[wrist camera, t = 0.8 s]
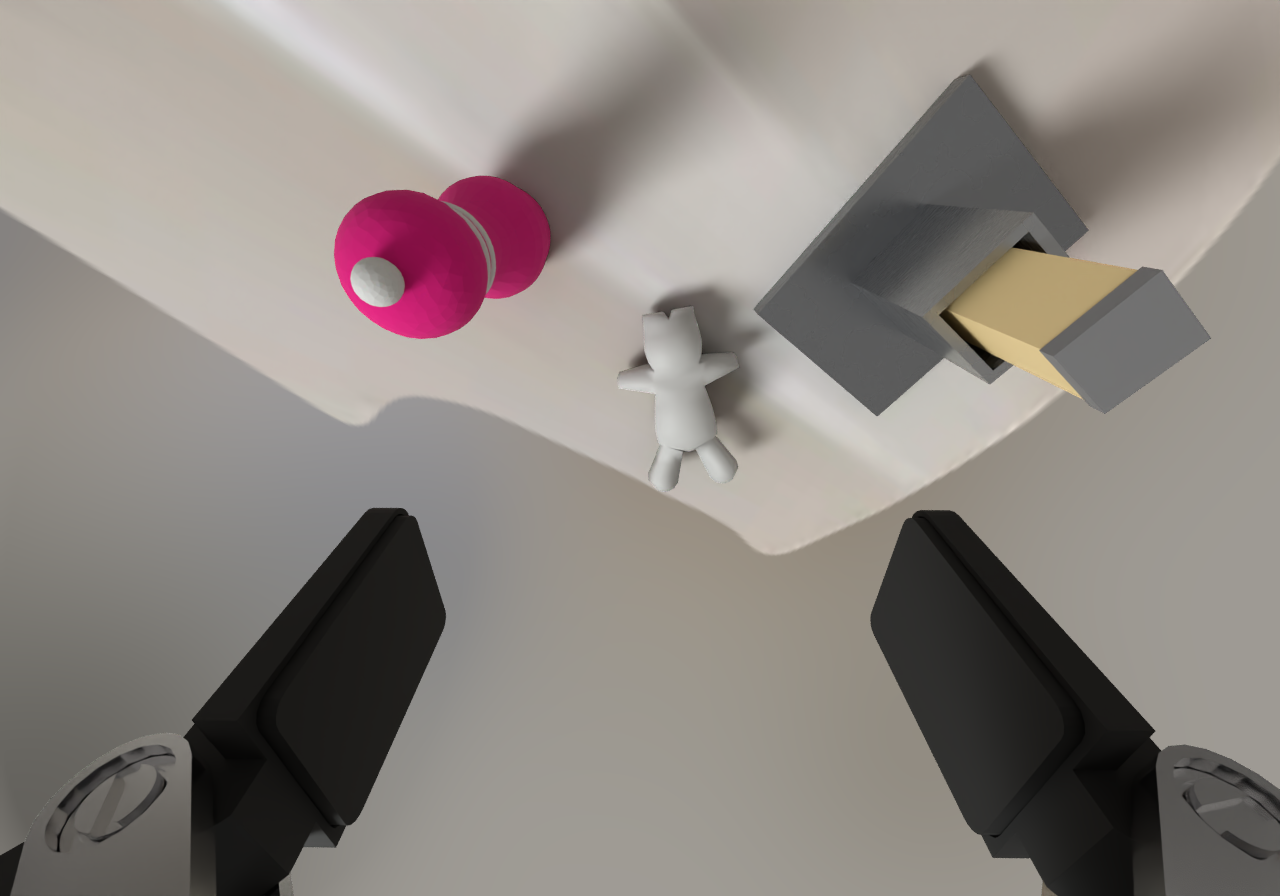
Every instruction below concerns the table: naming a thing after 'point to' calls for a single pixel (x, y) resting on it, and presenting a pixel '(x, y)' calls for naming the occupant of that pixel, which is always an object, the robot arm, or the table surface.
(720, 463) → the grey toy animal
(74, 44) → the table surface
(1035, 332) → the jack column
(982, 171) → the sleeve
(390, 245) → the pepper mill
